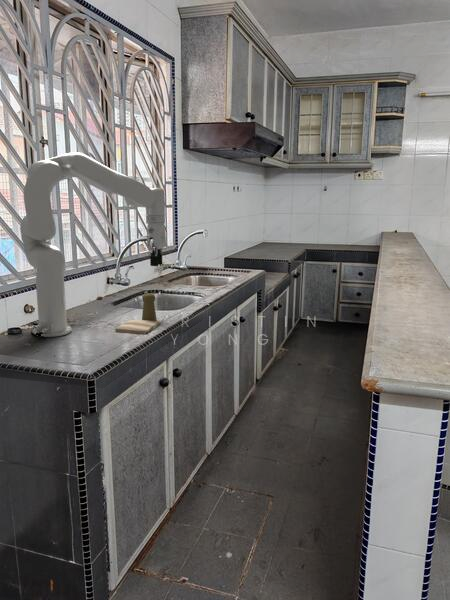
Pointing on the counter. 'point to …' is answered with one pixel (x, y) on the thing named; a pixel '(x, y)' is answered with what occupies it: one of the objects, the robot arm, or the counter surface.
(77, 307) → the counter surface
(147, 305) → the olive pepper shaker
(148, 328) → the cutting board
